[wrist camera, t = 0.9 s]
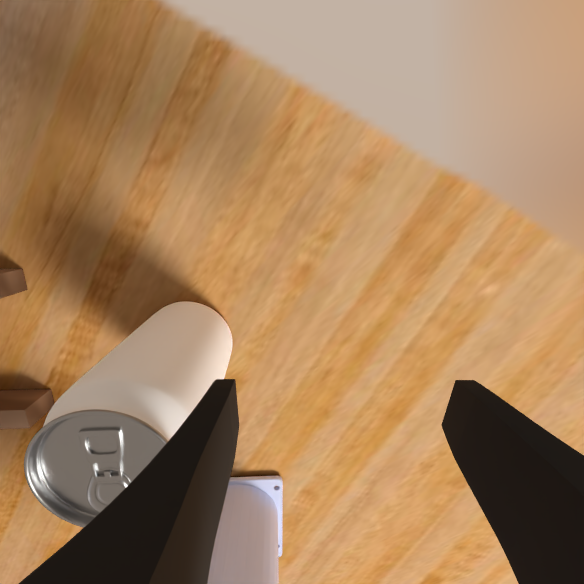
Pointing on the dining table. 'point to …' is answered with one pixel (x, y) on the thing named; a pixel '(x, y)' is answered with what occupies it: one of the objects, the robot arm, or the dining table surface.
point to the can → (125, 410)
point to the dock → (20, 403)
